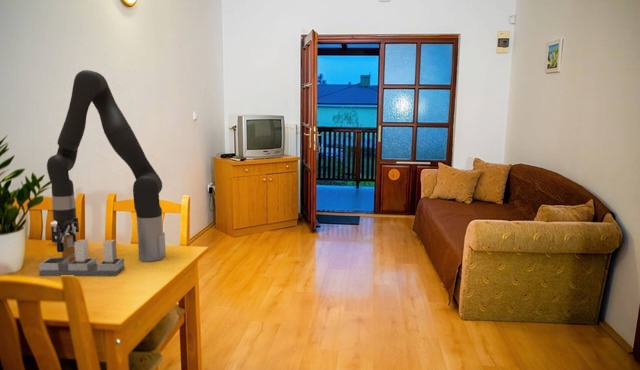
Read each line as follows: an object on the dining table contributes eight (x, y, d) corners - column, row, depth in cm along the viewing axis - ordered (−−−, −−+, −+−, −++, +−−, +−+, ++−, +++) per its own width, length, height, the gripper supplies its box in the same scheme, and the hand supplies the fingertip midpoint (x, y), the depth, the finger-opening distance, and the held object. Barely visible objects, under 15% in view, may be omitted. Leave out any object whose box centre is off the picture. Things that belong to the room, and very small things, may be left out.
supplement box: (61, 261, 165) (59, 236, 163) (69, 258, 168) (67, 233, 166) (67, 262, 164) (65, 237, 162) (75, 259, 167) (73, 234, 165)
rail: (125, 267, 160) (123, 237, 158) (115, 276, 152) (113, 244, 150) (52, 267, 159) (49, 237, 157) (38, 275, 151) (35, 243, 149)
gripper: (63, 211, 155) (66, 254, 158) (83, 203, 169) (86, 242, 172) (42, 211, 155) (45, 254, 158) (64, 202, 169) (67, 242, 172)
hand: (67, 248), depth 165 cm, fingers open, 8 cm apart
